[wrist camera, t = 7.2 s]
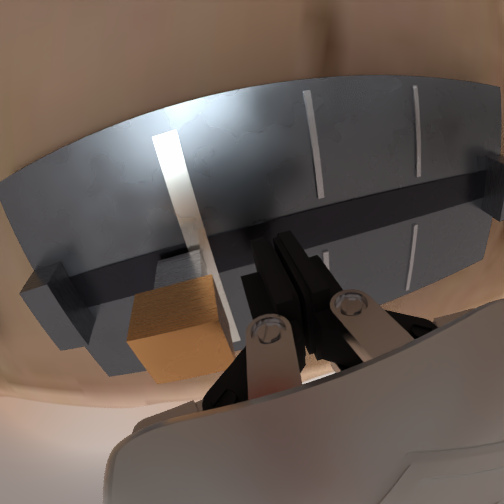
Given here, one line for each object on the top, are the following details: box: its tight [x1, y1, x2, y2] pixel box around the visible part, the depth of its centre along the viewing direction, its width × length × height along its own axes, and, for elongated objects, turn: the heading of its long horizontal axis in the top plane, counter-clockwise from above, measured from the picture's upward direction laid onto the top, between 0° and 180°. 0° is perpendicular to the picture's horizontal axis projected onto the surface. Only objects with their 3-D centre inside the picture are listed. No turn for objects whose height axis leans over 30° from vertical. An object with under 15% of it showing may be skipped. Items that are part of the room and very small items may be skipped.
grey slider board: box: [0, 75, 504, 377], centre depth 14 cm, size 30×14×4 cm, turn 101°
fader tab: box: [126, 250, 236, 384], centre depth 11 cm, size 3×2×5 cm
